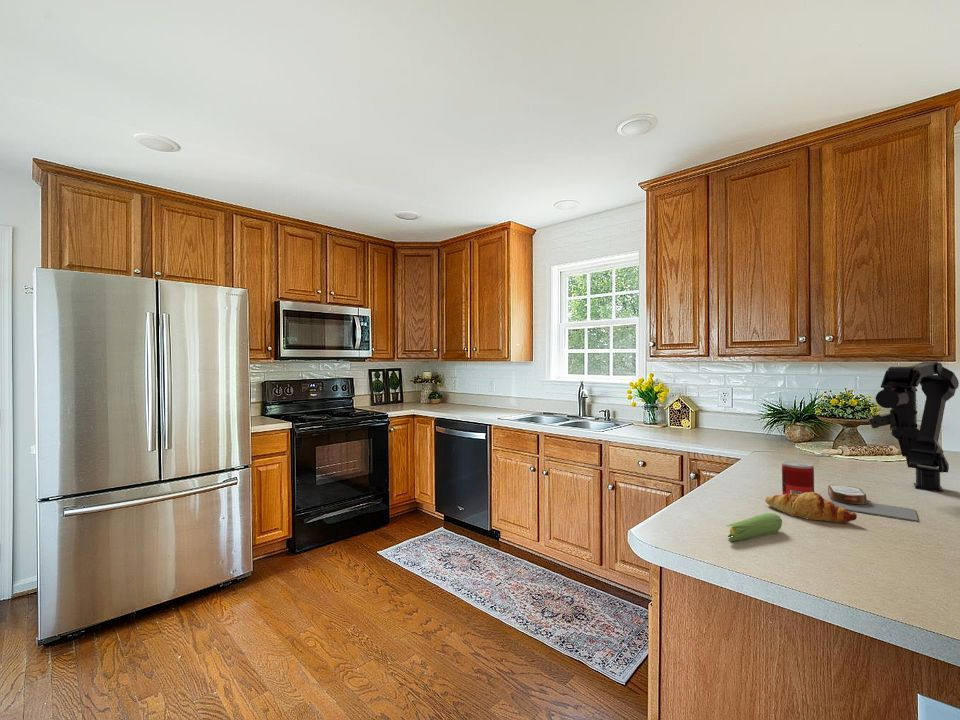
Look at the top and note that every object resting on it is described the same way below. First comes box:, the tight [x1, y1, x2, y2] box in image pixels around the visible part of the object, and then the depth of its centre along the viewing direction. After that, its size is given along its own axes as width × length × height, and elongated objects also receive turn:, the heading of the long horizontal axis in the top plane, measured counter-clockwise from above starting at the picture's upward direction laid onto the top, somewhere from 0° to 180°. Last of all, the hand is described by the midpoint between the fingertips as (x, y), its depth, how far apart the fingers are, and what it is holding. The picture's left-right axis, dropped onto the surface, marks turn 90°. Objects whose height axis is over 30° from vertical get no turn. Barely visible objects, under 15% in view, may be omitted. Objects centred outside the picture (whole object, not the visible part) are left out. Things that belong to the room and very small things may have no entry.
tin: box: [827, 484, 868, 504], centre depth 136 cm, size 15×3×8 cm
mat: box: [831, 499, 919, 523], centre depth 127 cm, size 12×18×1 cm, turn 49°
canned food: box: [781, 460, 815, 495], centre depth 137 cm, size 8×8×11 cm
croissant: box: [764, 491, 857, 524], centre depth 123 cm, size 21×10×8 cm, turn 38°
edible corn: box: [725, 512, 783, 543], centre depth 109 cm, size 5×20×5 cm
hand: (904, 456), depth 140 cm, fingers closed
